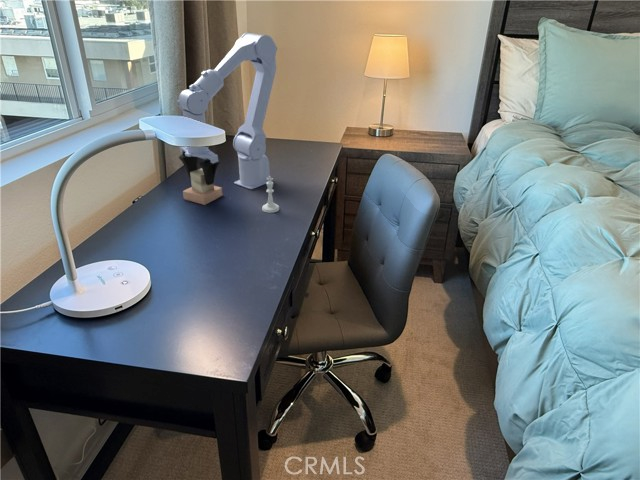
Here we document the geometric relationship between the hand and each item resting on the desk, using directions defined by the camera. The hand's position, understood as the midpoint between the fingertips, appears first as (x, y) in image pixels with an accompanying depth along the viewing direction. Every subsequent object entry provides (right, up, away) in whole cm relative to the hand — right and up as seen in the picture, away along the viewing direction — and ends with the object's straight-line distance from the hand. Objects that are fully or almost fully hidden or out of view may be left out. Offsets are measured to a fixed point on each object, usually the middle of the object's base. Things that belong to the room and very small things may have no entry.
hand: (201, 180), depth 131 cm
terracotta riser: (0, -5, +3) cm, 6 cm away
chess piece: (+21, -9, -4) cm, 23 cm away
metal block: (0, -2, +1) cm, 3 cm away
